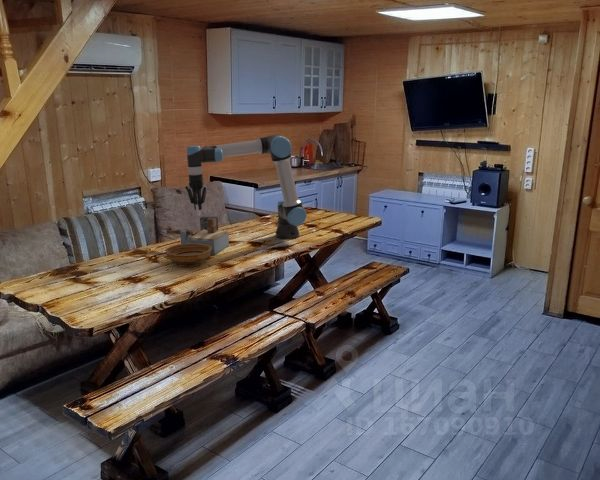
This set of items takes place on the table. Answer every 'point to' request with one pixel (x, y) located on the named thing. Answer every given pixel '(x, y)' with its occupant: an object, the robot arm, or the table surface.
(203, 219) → the small box
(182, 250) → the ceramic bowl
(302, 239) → the table surface
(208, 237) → the board with wooden block
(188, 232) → the latch
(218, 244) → the toolbox
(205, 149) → the robot arm
